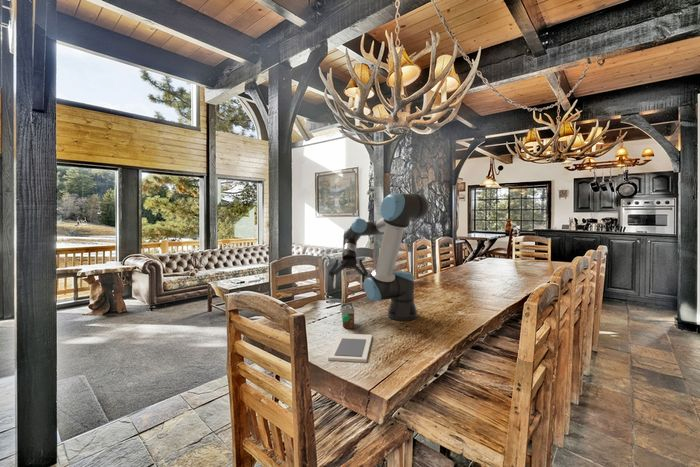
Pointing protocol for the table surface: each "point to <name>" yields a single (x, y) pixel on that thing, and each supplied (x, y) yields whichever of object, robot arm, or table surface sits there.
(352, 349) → the board
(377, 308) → the table surface
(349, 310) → the food container
